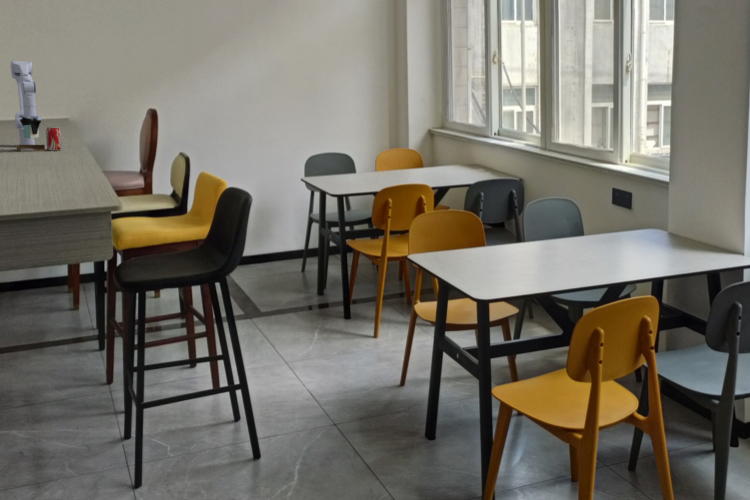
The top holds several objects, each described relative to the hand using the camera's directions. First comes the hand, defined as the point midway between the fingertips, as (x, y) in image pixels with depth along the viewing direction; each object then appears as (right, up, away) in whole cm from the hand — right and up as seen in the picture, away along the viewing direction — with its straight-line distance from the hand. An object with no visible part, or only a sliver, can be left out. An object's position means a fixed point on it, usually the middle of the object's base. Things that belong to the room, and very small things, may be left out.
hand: (31, 133), depth 384 cm
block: (0, -2, +1) cm, 2 cm away
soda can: (+8, -7, +10) cm, 14 cm away
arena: (-3, -8, +5) cm, 10 cm away
